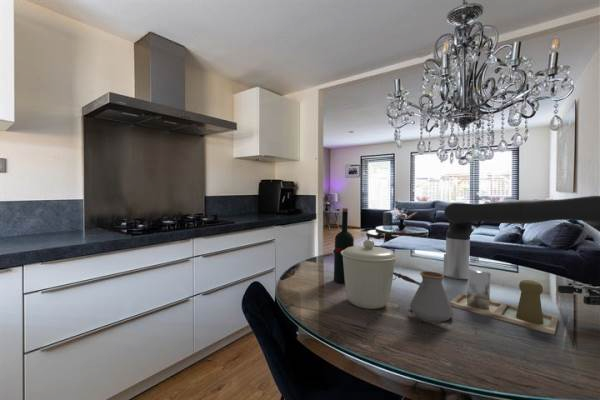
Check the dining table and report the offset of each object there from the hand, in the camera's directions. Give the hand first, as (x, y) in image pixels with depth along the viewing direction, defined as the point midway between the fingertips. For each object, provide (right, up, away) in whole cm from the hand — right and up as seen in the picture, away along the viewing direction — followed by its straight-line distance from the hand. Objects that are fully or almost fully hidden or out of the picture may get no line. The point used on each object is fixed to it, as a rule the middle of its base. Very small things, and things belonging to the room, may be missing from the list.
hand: (571, 294), depth 79 cm
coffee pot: (-43, -8, +1) cm, 43 cm away
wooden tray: (-16, -8, +5) cm, 19 cm away
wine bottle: (-58, -7, +35) cm, 68 cm away
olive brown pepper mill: (-12, -8, 0) cm, 14 cm away
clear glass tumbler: (-20, -7, +10) cm, 23 cm away
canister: (-55, -8, +13) cm, 57 cm away
